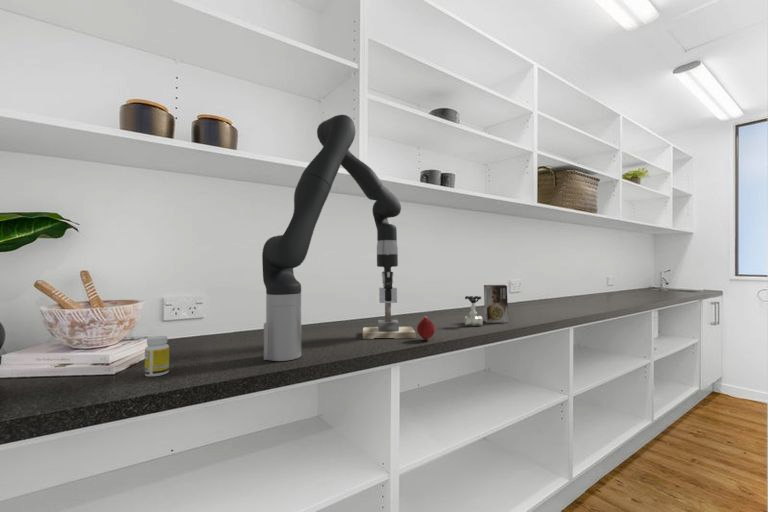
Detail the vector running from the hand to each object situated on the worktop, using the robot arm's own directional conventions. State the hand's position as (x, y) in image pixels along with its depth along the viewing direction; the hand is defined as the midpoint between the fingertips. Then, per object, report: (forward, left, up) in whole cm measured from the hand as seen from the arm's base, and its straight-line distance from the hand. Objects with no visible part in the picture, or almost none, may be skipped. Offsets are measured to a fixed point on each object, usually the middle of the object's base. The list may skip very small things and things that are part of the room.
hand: (387, 300), depth 127 cm
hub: (0, 0, -1) cm, 1 cm away
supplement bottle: (-56, -42, -13) cm, 71 cm away
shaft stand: (0, 0, -12) cm, 12 cm away
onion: (+12, -10, -13) cm, 20 cm away
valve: (+36, +17, -13) cm, 42 cm away
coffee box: (+49, +27, -13) cm, 57 cm away
